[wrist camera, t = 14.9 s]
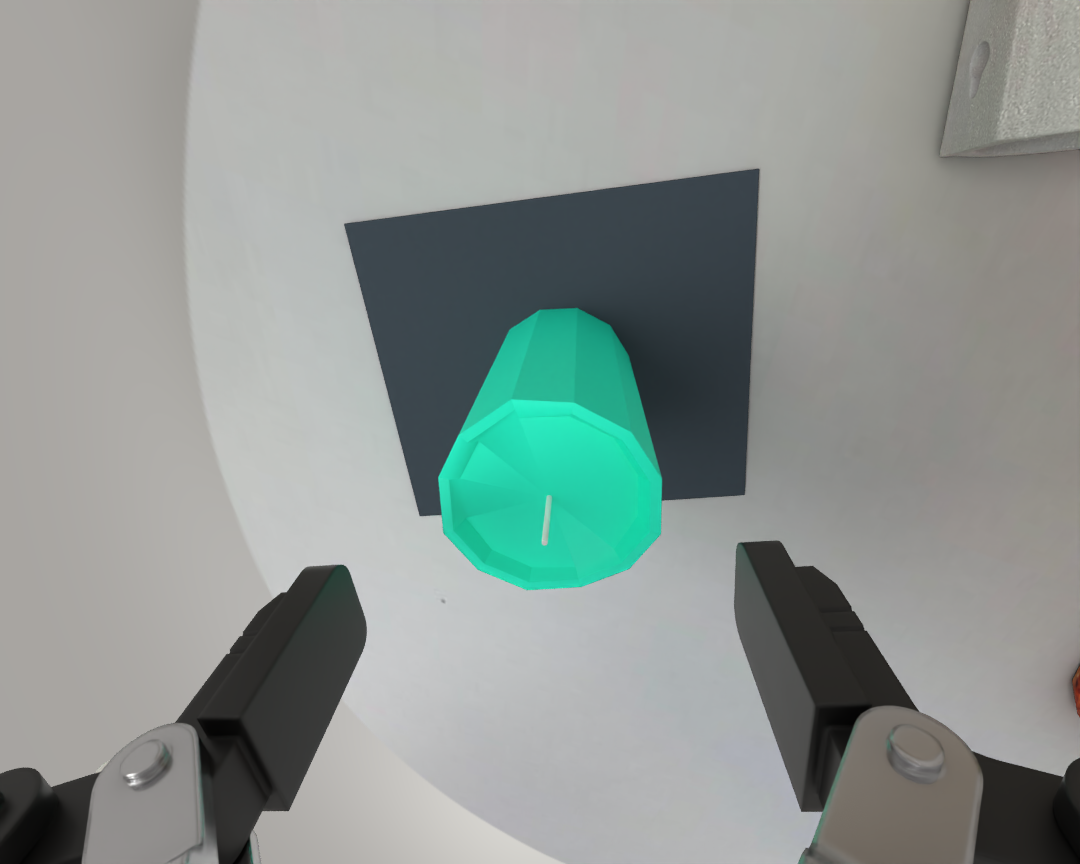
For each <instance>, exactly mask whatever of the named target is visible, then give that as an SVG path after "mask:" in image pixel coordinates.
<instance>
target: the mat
mask: <svg viewBox="0 0 1080 864" xmlns="http://www.w3.org/2000/svg"><path fill="white" fill-rule="evenodd" d="M758 180H759V169H753V170H746V171H738V172H731V173H723V174H716V175H708V176H701V177H693V178H686V179H678V180H671V181H663V182H656V183H648V184H640V185H633V186H625V187H618V188H610V189H603V190H595V191H588V192H580V193H573V194H565V195H558V196H550V197H543V198H535V199H528V200H520V201H513V202H505V203H498V204H490V205H483V206H475V207H468V208H460V209H453V210H445V211H438V212H430V213H423V214H415V215H408V216H400V217H393V218H385V219H378V220H370V221H363V222H355V223H348V224H344V225H345V229H346V233H347V237H348V241H349V245H350V249H351V252H352V256H353V260H354V264H355V268H356V272H357V276H358V279H359V283H360V287H361V291H362V295H363V299H364V303H365V306H366V310H367V314H368V318H369V322H370V326H371V330H372V333H373V337H374V341H375V345H376V349H377V353H378V357H379V360H380V364H381V368H382V372H383V376H384V380H385V384H386V387H387V391H388V395H389V399H390V403H391V407H392V411H393V414H394V418H395V422H396V426H397V430H398V434H399V438H400V441H401V445H402V449H403V453H404V457H405V461H406V465H407V468H408V472H409V476H410V480H411V484H412V488H413V492H414V495H415V499H416V503H417V507H418V511H419V515H420V516H430V515H442V512H441V502H440V491H439V481H438V477H439V475H440V473H441V471H442V468H443V466H444V464H445V462H446V460H447V458H448V456H449V454H450V452H451V450H452V448H453V446H454V443H455V441H456V439H457V437H458V435H459V433H460V431H461V429H462V427H463V425H464V423H465V421H466V419H467V417H468V415H469V412H470V410H471V408H472V406H473V404H474V402H475V400H476V398H477V396H478V394H479V392H480V390H481V388H482V386H483V384H484V381H485V379H486V377H487V375H488V373H489V371H490V369H491V367H492V365H493V363H494V361H495V359H496V357H497V355H498V353H499V350H500V348H501V346H502V344H503V342H504V340H505V338H506V336H507V334H508V332H509V330H510V329H511V328H513V327H514V326H516V325H517V324H519V323H520V322H522V321H524V320H525V319H527V318H528V317H530V316H531V315H533V314H534V313H536V312H537V311H539V310H546V309H567V308H578V309H580V310H582V311H584V312H586V313H588V314H590V315H592V316H594V317H595V318H597V319H599V320H601V321H603V322H605V323H607V324H609V325H610V326H611V327H612V329H613V331H614V332H615V334H616V336H617V337H618V339H619V340H620V342H621V344H622V345H623V347H624V349H625V350H626V352H627V354H628V355H629V359H630V362H631V366H632V370H633V374H634V377H635V381H636V385H637V388H638V392H639V396H640V399H641V403H642V407H643V410H644V414H645V418H646V422H647V425H648V429H649V433H650V436H651V440H652V444H653V447H654V451H655V455H656V459H657V462H658V466H659V470H660V473H661V477H662V500H676V499H691V498H706V497H722V496H737V495H745V473H746V450H747V428H748V405H749V383H750V360H751V338H752V315H753V293H754V270H755V248H756V225H757V203H758Z"/></svg>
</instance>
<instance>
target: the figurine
mask: <svg viewBox="0 0 1080 864" xmlns="http://www.w3.org/2000/svg"><path fill="white" fill-rule="evenodd" d="M1072 683H1073V690H1074V696H1075V702H1076V708H1077V714H1078V715H1079V717H1080V666H1079V668H1078V670H1077V672H1076V674H1075V676H1074V678H1073V680H1072Z"/></svg>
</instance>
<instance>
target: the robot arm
mask: <svg viewBox="0 0 1080 864" xmlns="http://www.w3.org/2000/svg"><path fill="white" fill-rule="evenodd" d="M734 609H735V618H736V624H737V629H738V633H739V636H740V639H741V642H742V645H743V648H744V651H745V654H746V656H747V659H748V662H749V665H750V668H751V671H752V673H753V676H754V679H755V682H756V685H757V687H758V690H759V693H760V696H761V699H762V702H763V704H764V707H765V710H766V713H767V716H768V719H769V721H770V724H771V727H772V730H773V733H774V736H775V738H776V741H777V744H778V747H779V750H780V752H781V755H782V758H783V761H784V764H785V767H786V769H787V772H788V775H789V778H790V781H791V784H792V786H793V789H794V792H795V795H796V798H797V800H798V803H799V806H800V809H801V812H823V813H822V816H821V819H820V822H819V824H818V827H817V830H816V833H815V835H814V838H813V841H812V843H811V845H810V847H809V849H808V848H805V850H804V852H803V853H802V855H801V858H800V860H799V862H798V864H1080V758H1079V759H1077V760H1075V761H1073V762H1072V763H1071V764H1070V765H1069V766H1068V768H1067V770H1066V773H1065V775H1064V777H1061V776H1057V775H1053V774H1049V773H1046V772H1042V771H1038V770H1034V769H1030V768H1026V767H1022V766H1018V765H1014V764H1010V763H1006V762H1002V761H998V760H995V759H992V758H989V757H985V756H983V755H981V754H978V753H976V752H973V751H971V749H970V748H969V747H968V746H967V745H966V744H965V742H964V741H963V740H962V739H961V738H960V737H959V736H958V735H956V734H955V733H954V732H953V731H952V730H950V729H949V728H948V727H946V726H945V725H944V724H942V723H940V722H939V721H937V720H935V719H934V718H932V717H930V716H928V715H926V714H923V713H921V712H919V710H918V709H917V708H916V706H915V705H914V704H913V702H912V700H911V699H910V697H909V696H908V694H907V693H906V691H905V690H904V688H903V686H902V685H901V683H900V682H899V680H898V679H897V677H896V676H895V674H894V672H893V671H892V669H891V668H890V666H889V665H888V663H887V662H886V660H885V658H884V657H883V655H882V654H881V652H880V651H879V649H878V648H877V646H876V644H875V643H874V641H873V640H872V638H871V637H870V635H869V634H868V632H867V631H865V630H864V627H863V624H862V623H861V621H860V620H859V618H858V616H857V615H856V613H855V612H854V611H852V609H851V606H850V604H849V602H848V601H847V599H846V598H845V596H844V595H843V593H842V592H841V590H840V588H839V587H838V585H837V584H836V583H834V582H833V581H832V580H830V579H829V578H828V577H827V576H825V575H824V574H823V573H821V572H820V571H819V570H817V569H816V568H815V567H814V566H804V567H795V566H794V564H793V562H792V560H791V558H790V557H789V555H788V553H787V551H786V550H785V548H784V546H783V545H782V543H781V542H780V541H761V542H744V543H738V545H737V549H736V569H735V596H734ZM366 634H367V627H366V620H365V616H364V613H363V610H362V607H361V605H360V602H359V599H358V596H357V593H356V590H355V587H354V584H353V581H352V578H351V575H350V572H349V570H348V569H347V567H346V566H344V565H327V566H310V567H306V568H305V569H304V570H303V571H302V572H301V573H300V574H299V576H298V577H297V579H296V580H295V581H294V583H293V584H292V586H291V587H290V588H289V590H288V591H287V592H285V593H280V594H279V595H278V596H277V597H276V598H274V599H273V600H272V601H271V602H269V603H268V604H267V605H266V606H264V607H263V608H262V609H261V610H260V611H258V613H257V614H256V615H255V617H254V618H253V619H252V621H251V622H250V624H249V625H248V626H247V628H246V629H245V630H244V631H243V636H240V637H239V638H238V640H237V641H236V642H235V643H234V645H233V646H232V648H231V649H230V654H226V656H225V657H224V658H223V660H222V661H221V662H220V664H219V665H218V666H217V668H216V669H215V670H214V672H213V673H212V674H211V676H210V677H209V678H208V680H207V681H206V682H205V684H204V685H203V686H202V688H201V689H200V690H199V692H198V693H197V694H196V696H195V697H194V698H193V700H192V701H191V702H190V704H189V705H188V706H187V708H186V709H185V710H184V712H183V713H182V715H181V716H180V717H179V718H178V720H177V721H176V722H175V723H171V724H166V725H163V726H160V727H157V728H155V729H153V730H150V731H148V732H146V733H144V734H142V735H141V736H139V737H137V738H136V739H135V740H133V741H131V742H130V743H129V744H128V745H126V746H125V747H124V748H122V749H121V750H120V751H119V752H118V753H117V754H116V755H115V756H114V757H113V758H112V759H111V760H110V761H109V762H108V763H107V764H106V766H105V767H104V768H103V770H102V771H101V772H98V773H95V774H92V775H88V776H85V777H82V778H79V779H76V780H73V781H70V782H66V783H63V784H60V785H57V786H54V787H50V786H49V785H48V783H47V782H46V780H45V779H44V778H43V777H42V776H41V774H40V773H39V772H38V771H36V770H35V769H32V768H18V769H14V770H10V771H6V772H4V773H1V774H0V864H261V859H260V852H259V845H258V839H257V835H256V833H255V832H254V830H253V828H254V826H255V824H256V822H257V820H258V818H259V816H260V814H261V812H262V811H289V809H290V807H291V805H292V803H293V801H294V799H295V796H296V794H297V792H298V790H299V788H300V785H301V783H302V781H303V779H304V777H305V775H306V773H307V771H308V768H309V766H310V764H311V762H312V760H313V758H314V755H315V753H316V751H317V749H318V747H319V744H320V742H321V740H322V738H323V736H324V734H325V732H326V729H327V727H328V725H329V723H330V721H331V719H332V716H333V714H334V712H335V710H336V708H337V705H338V703H339V701H340V699H341V697H342V695H343V693H344V691H345V688H346V686H347V684H348V682H349V680H350V678H351V675H352V673H353V671H354V669H355V667H356V665H357V662H358V660H359V658H360V656H361V654H362V652H363V649H364V646H365V642H366Z"/></svg>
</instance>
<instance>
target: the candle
mask: <svg viewBox="0 0 1080 864" xmlns="http://www.w3.org/2000/svg"><path fill="white" fill-rule="evenodd" d="M438 481H439V491H440V502H441V512H442V523H443V533H444V534H445V535H446V536H447V537H448V538H449V539H450V540H451V542H452V543H453V544H454V545H455V546H456V547H457V548H458V549H459V550H460V551H461V552H462V553H463V554H464V555H465V557H466V558H467V559H468V560H469V561H470V562H471V563H472V564H473V565H474V566H475V567H476V568H477V569H478V570H480V571H482V572H485V573H487V574H489V575H492V576H494V577H497V578H499V579H501V580H504V581H506V582H509V583H511V584H513V585H516V586H518V587H521V588H523V589H526V590H538V589H555V588H572V587H582V586H585V585H588V584H590V583H593V582H596V581H598V580H601V579H604V578H606V577H609V576H612V575H614V574H617V573H620V572H622V571H625V570H628V569H630V568H631V566H632V565H633V564H634V563H635V562H636V561H637V560H638V559H639V558H640V557H641V555H642V554H643V553H644V552H645V551H646V550H647V549H648V548H649V547H650V546H651V544H652V543H653V542H654V541H655V540H656V539H657V538H658V537H659V536H660V535H661V504H662V477H661V473H660V470H659V466H658V462H657V459H656V455H655V451H654V447H653V444H652V440H651V436H650V433H649V429H648V425H647V422H646V418H645V414H644V410H643V407H642V403H641V399H640V396H639V392H638V388H637V385H636V381H635V377H634V374H633V370H632V366H631V362H630V359H629V355H628V354H627V352H626V350H625V349H624V347H623V345H622V344H621V342H620V340H619V339H618V337H617V336H616V334H615V332H614V331H613V329H612V327H611V326H610V325H609V324H607V323H605V322H603V321H601V320H599V319H597V318H595V317H594V316H592V315H590V314H588V313H586V312H584V311H582V310H580V309H578V308H567V309H546V310H539V311H537V312H536V313H534V314H533V315H531V316H530V317H528V318H527V319H525V320H524V321H522V322H520V323H519V324H517V325H516V326H514V327H513V328H511V329H510V330H509V332H508V334H507V336H506V338H505V340H504V342H503V344H502V346H501V348H500V350H499V353H498V355H497V357H496V359H495V361H494V363H493V365H492V367H491V369H490V371H489V373H488V375H487V377H486V379H485V381H484V384H483V386H482V388H481V390H480V392H479V394H478V396H477V398H476V400H475V402H474V404H473V406H472V408H471V410H470V412H469V415H468V417H467V419H466V421H465V423H464V425H463V427H462V429H461V431H460V433H459V435H458V437H457V439H456V441H455V443H454V446H453V448H452V450H451V452H450V454H449V456H448V458H447V460H446V462H445V464H444V466H443V468H442V471H441V473H440V475H439V477H438Z"/></svg>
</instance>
